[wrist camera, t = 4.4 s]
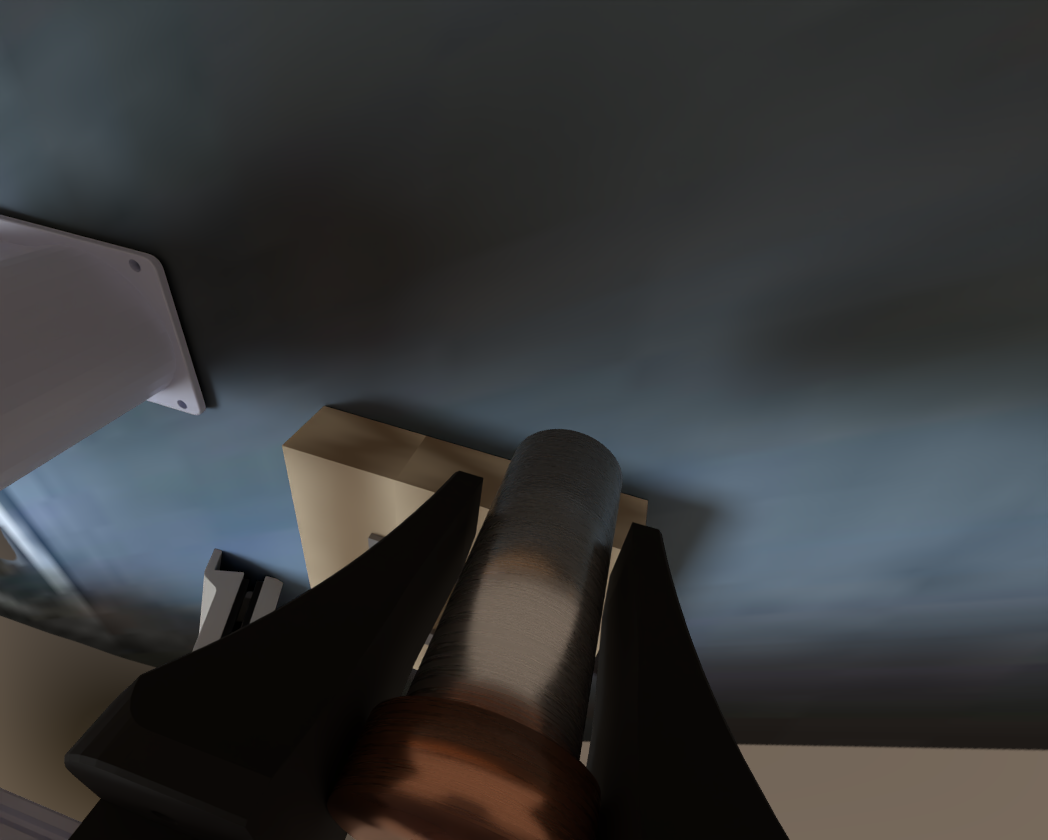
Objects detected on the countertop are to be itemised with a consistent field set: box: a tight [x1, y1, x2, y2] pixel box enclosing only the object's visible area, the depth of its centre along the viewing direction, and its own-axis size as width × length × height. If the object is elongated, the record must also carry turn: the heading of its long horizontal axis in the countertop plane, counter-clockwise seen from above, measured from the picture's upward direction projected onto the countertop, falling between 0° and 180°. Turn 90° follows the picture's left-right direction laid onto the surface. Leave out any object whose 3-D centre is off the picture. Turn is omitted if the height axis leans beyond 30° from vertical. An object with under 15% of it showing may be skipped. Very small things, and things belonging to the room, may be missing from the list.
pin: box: [327, 429, 623, 840], centre depth 10 cm, size 4×4×8 cm
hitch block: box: [282, 406, 648, 670], centre depth 25 cm, size 15×15×3 cm
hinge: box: [192, 549, 283, 652], centre depth 35 cm, size 17×5×10 cm, turn 153°
